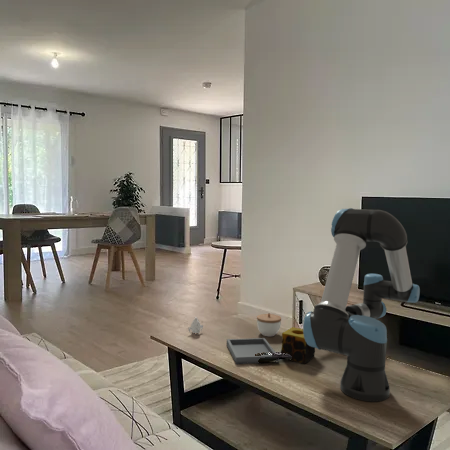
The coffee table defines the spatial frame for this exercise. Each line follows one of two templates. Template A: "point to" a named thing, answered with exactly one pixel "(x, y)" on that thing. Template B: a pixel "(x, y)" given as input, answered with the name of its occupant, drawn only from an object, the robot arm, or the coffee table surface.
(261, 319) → the lidded jar
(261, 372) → the coffee table surface
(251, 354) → the tray
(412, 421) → the coffee table surface
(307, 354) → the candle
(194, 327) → the rocket toy
